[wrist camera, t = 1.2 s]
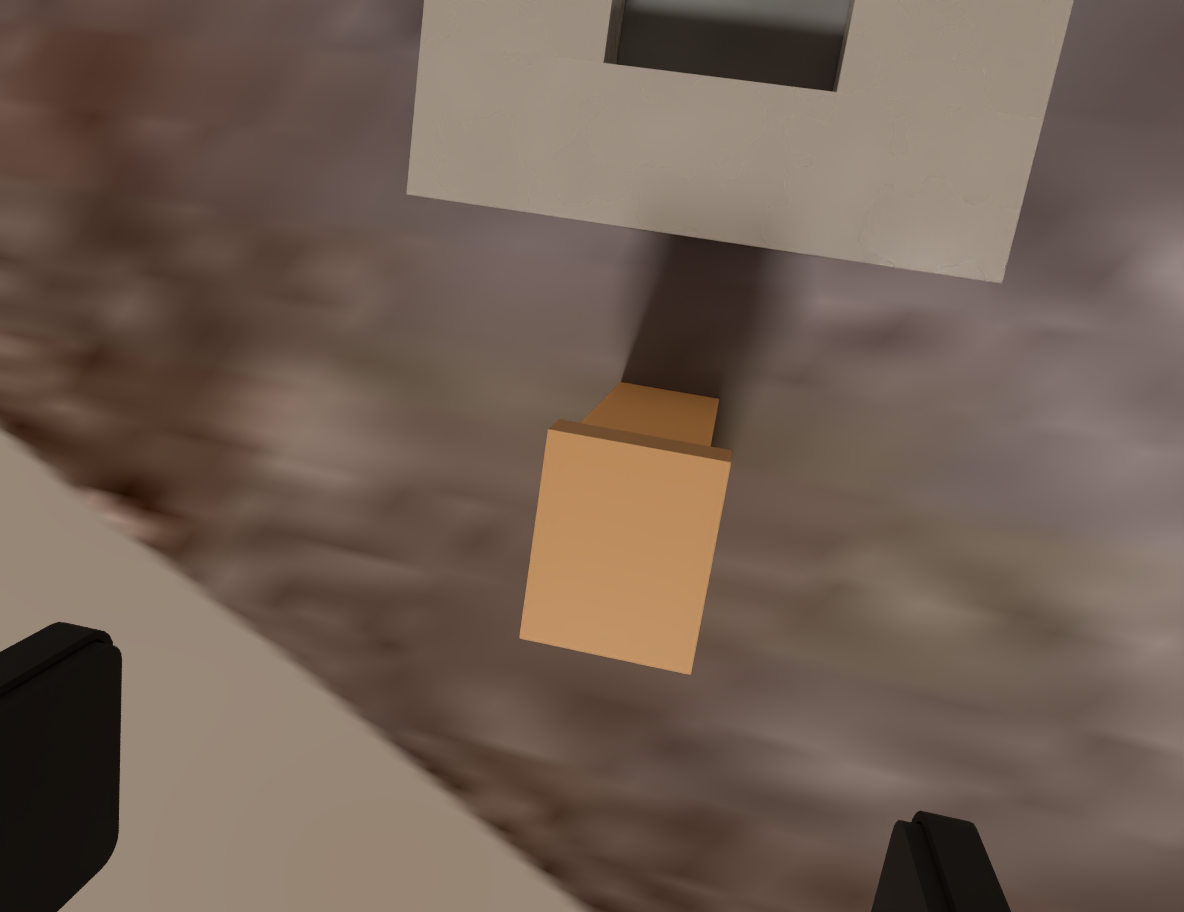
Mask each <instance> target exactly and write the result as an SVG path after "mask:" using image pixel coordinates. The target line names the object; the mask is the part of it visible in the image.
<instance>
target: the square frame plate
mask: <svg viewBox="0 0 1184 912" xmlns="http://www.w3.org/2000/svg"><path fill="white" fill-rule="evenodd" d="M1073 1H1074V0H850V5H849V10H848V15H847V21H846V26H845V31H844V36H843V41H842V46H841V51H840V56H839V61H838V66H837V71H836V76H835V81H834V86H833V91H832V92H831V91H823V90H815V89H807V88H799V87H791V86H783V85H776V84H768V83H760V82H752V81H744V80H736V79H728V78H720V77H712V76H704V75H696V74H688V73H680V72H672V71H664V70H656V69H648V68H640V67H632V66H624V65H616V64H617V56H618V49H619V42H620V35H621V28H622V21H623V14H624V7H625V0H424V9H423V20H422V31H421V42H420V53H419V64H418V75H417V86H416V97H415V108H414V118H413V129H412V140H411V151H410V162H409V173H408V184H407V194H409V195H415V196H420V197H426V198H432V199H439V200H446V201H452V202H459V203H466V204H472V205H479V206H486V207H492V208H499V209H506V210H512V211H519V212H526V213H532V214H539V215H546V216H552V217H559V218H566V219H572V220H579V221H586V222H593V223H599V224H606V225H613V226H619V227H626V228H633V229H639V230H646V231H653V232H659V233H666V234H673V235H679V236H686V237H693V238H699V239H706V240H713V241H719V242H726V243H733V244H739V245H746V246H753V247H759V248H766V249H773V250H780V251H786V252H793V253H800V254H806V255H813V256H820V257H826V258H833V259H840V260H846V261H853V262H860V263H866V264H873V265H880V266H886V267H893V268H900V269H906V270H913V271H920V272H926V273H933V274H940V275H946V276H953V277H960V278H967V279H973V280H980V281H988V282H996V283H1002V281H1003V277H1004V273H1005V269H1006V265H1007V261H1008V257H1009V253H1010V249H1011V245H1012V241H1013V237H1014V233H1015V230H1016V226H1017V222H1018V218H1019V214H1020V210H1021V206H1022V202H1023V198H1024V194H1025V190H1026V186H1027V182H1028V178H1029V174H1030V171H1031V167H1032V163H1033V159H1034V155H1035V151H1036V147H1037V143H1038V139H1039V135H1040V131H1041V127H1042V123H1043V119H1044V115H1045V112H1046V108H1047V104H1048V100H1049V96H1050V92H1051V88H1052V84H1053V80H1054V76H1055V72H1056V68H1057V64H1058V60H1059V57H1060V53H1061V49H1062V45H1063V41H1064V37H1065V33H1066V29H1067V25H1068V21H1069V17H1070V13H1071V9H1072V5H1073Z"/></svg>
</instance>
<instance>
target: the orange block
mask: <svg viewBox="0 0 1184 912" xmlns="http://www.w3.org/2000/svg"><path fill="white" fill-rule="evenodd" d="M718 403H719V399H717V398H711V397H705V396H699V395H693V394H688V393H682V392H676V391H670V390H664V389H659V388H653V387H647V386H641V385H635V384H630V383H624V382H620V383H619V384H618V385H617V386H616V387H615V388H614V389H613V390H612V392H611V393H610V394H609V395H608V396H607V397H606V398H605V399H604V400H603V401H602V402H601V403H600V404H599V405H598V406H597V407H596V408H595V409H594V410H593V411H592V412H591V413H590V414H589V415H588V416H587V417H586V418H585V419H584V420H583V421H582V422H581V423H577V422H571V421H566V420H560V419H559V420H558V421H557V422H556V423H555V424H553V425H552V426H551V427H550V428H549V429H548V434H547V441H546V448H545V456H544V463H543V470H542V478H541V485H540V492H539V499H538V507H537V514H536V521H535V529H534V536H533V543H532V550H531V558H530V565H529V572H528V580H527V587H526V594H525V601H524V609H523V616H522V623H521V631H520V638H521V639H525V640H530V641H535V642H539V643H544V644H549V645H553V646H558V647H563V648H567V649H572V650H577V651H581V652H586V653H591V654H596V655H600V656H605V657H610V658H614V659H619V660H624V661H628V662H633V663H638V664H642V665H647V666H652V667H656V668H661V669H666V670H670V671H675V672H680V673H684V674H689V675H691V670H692V665H693V660H694V655H695V649H696V644H697V639H698V634H699V628H700V623H701V618H702V613H703V607H704V602H705V597H706V592H707V586H708V581H709V576H710V571H711V565H712V560H713V555H714V550H715V544H716V539H717V534H718V529H719V523H720V518H721V513H722V508H723V502H724V497H725V492H726V487H727V481H728V476H729V471H730V466H731V458H732V450H727V449H722V448H716V447H711V442H712V436H713V431H714V425H715V420H716V414H717V409H718Z"/></svg>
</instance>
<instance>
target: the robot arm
mask: <svg viewBox="0 0 1184 912" xmlns="http://www.w3.org/2000/svg"><path fill="white" fill-rule="evenodd" d="M121 679H122V656H121V652H120V650H119V649H118V648H117V647H115V646H113V641H112V640H111V637H110V635H109V634H107V633H106V632H105V631H101V630H97V629H92V628H88V627H83V626H78V625H74V624H69V623H63V622H57V623H54V624H51V625H49V626H47V627H45V628H44V629H42V630H40V631H38V632H37V633H34V634H33V635H31V636H29V637H27V638H25V639H23V640H22V641H20V642H18V643H16V644H14V645H12V646H10V647H9V648H7V649H5V650H3V651H1V652H0V912H57V911H58V910H59V909H60V908H62V907H63V906H64V905H65V904H66V903H67V902H68V901H69V900H70V899H71V898H72V897H73V896H74V895H75V894H76V893H77V892H78V891H79V890H80V889H81V888H82V887H83V886H84V885H85V884H86V883H87V882H88V881H89V880H90V879H91V878H93V876H95V874H97V873H98V872H99V871H100V870H101V869H102V868H103V866H104V865H105V864H106V863H107V862H108V860H109V858H110V857H111V855H112V853H113V851H114V848H115V846H116V843H117V839H118V832H119V784H120V783H119V782H120V733H121V681H122V680H121ZM871 912H1011V911H1010V908H1009V906H1008V903H1007V901H1006V898H1005V896H1004V894H1003V891H1002V889H1001V886H1000V884H999V882H998V879H997V877H996V874H995V872H994V869H993V867H992V865H991V862H990V860H989V857H988V855H987V853H986V850H985V848H984V845H983V843H982V840H981V838H980V836H979V833H978V831H977V829H976V827H975V825H974V824H973V823H971V822H969V821H965V820H960V819H956V818H951V817H947V816H942V815H938V814H933V813H928V812H924V811H918V812H917V813H916V814H915V816H914V817H913V819H912V822H906V821H902V820H898V821H897V822H896V824H895V825H894V828H893V831H892V834H891V838H890V842H889V846H888V850H887V853H886V857H885V861H884V865H883V869H882V872H881V876H880V880H879V884H878V888H877V891H876V895H875V899H874V903H873V907H872V910H871Z"/></svg>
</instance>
